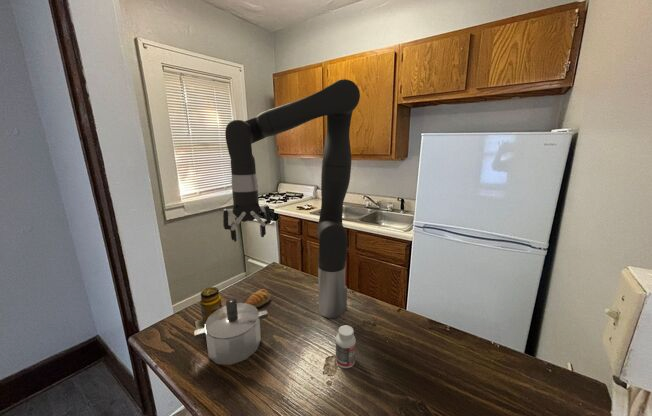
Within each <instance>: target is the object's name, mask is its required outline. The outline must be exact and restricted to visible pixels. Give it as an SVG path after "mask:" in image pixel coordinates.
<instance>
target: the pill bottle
mask: <svg viewBox="0 0 652 416" xmlns="http://www.w3.org/2000/svg"><path fill="white" fill-rule="evenodd" d="M354 332H355V331H354V328H353V327H352V326H351V325H345V324H344V325H341V326H340V327H338V333H337V334H336V336H335V354H334V355H335V362H336V365H337V366H338V367H339V368H342V369H350V368H353V366H354V365H355V362H356V348H357V347H356V343H357V340H356V336H355V335H354Z"/></svg>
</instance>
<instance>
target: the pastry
mask: <svg viewBox="0 0 652 416" xmlns="http://www.w3.org/2000/svg"><path fill="white" fill-rule="evenodd" d="M270 300H271V294H270V293H269V292H268V290H266V289H264V288H262V289H261V288H260V289H259V290H257V291H255V292H253V293H252V294H251V295H250V296H249V297H248V298H247V300H246V301H245V302H244V303H246V304H250V305H253V306H254V307H256V308H258V307H262V306H263V305H264V304H266V303H268V302H269V301H270Z"/></svg>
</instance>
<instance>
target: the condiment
mask: <svg viewBox="0 0 652 416" xmlns="http://www.w3.org/2000/svg"><path fill="white" fill-rule="evenodd" d="M219 291H220V290H219V288H218V287H215V286H211V287H206V288H205V289H202V291H201V292H200V299H201V300H200V303H199V305H200V309H201V318H202V319H199V320H195V321H194V322H195V323H194V324H195V329H196V330H199V329H202V328H205V324H206V321H207V319H208V317H209V316H210V315H211V314H212V313H214V312H215V311H216V310H218V309H220V308H222V307H223V305H222V299H221V298H222V297H221V294H220V292H219Z"/></svg>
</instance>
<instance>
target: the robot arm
mask: <svg viewBox="0 0 652 416" xmlns="http://www.w3.org/2000/svg"><path fill="white" fill-rule="evenodd" d="M360 99H361V91H360V88H359V86H358V85H357V84H356V83H355V82H354V81H352V80H350V79H345V78H342V79H339V80H336V81H335V82H334V83H332V84H329V85H328V86H327V87H325V88H323V89H321V90H319V91H317V92H315V93H313V94H311V95H308V96H306V97H304V98H300V99H297V100H295V101H291V102H288V103H286V104H282V105H279V106H276V107H273V108H270V109H268V110H265V111H262V112H260V113H259V114H258V115H257V116H254V117H251V118H249V119H246V120H241V119H233V120H231V121H229V122H227V125H226V126H225V127H226V128H225V131H224V132H225V135H224V136H225V141H226V147H227V151H228V155H229V157H230V170H231V192H232V202H233V207H232V208H231V209H227V208H224V209H222V220H223V221H222V222H223V229H224V230H229V231H230V238H231V240H232V241H233V242H234V243H235V242H237V231H236V228H237V227H238V225H240V223H241V222H243V223H244V222H248V221H249V222H253V221H254V220H256V221H257V222H258V223H259V224H260V225H259V231H260V233H259V234H260V237H261V238H264V237H265V235H266V234H267V232H266V226H267V225H269V224H270V225H271V223H272V220H271V210H270V206H269V205H268V204H263V205H260V202H259V184H258V178H257V172H256V160H255V156H254V155H253V149H252V144H254V143H257V142H258V141H262V140H264V139H266V138H267V137H272V136H276V135H279V134H281V133H285V132H287V131H290V130H293V129H295V128H298V127H300V126H301V125H304V124H306V123H308V122H310V121H312V120H316V119H317V118H321V117H322V118H323V117H325V116H326V133H325V134H326V135H325V140H324V146H323V153H322V154H323V155H322V161H321V176H320V178H321V179H320V182H321V184H320V188H321V189H320V190H321V191H320V192H321V193H320V196H321V205H320V212H319V219H318V224H317V228H316V229H317V230H316V231H317V233H316V235H317V237H318V260H317V263H318V264H317V271H318V275H317V278H318V306H317V307H318V313H319V314H320V315H321V316H322V317H324V318H328V319H336V318H339V317H341V316H343V314H344V313H345V312H347V309H348V308H347V307H348V286H347V285H346V262H347V259H348V258H347V257H348V241H349V240H348V233H347V230H346V228H345V227H344V225H343V207H344V201H345V198H346V195H347V192H348V189H349V186H350V180H351V171H352V150H351V139H350V132H351V131H350V129H351V128H350V127H351V122H352V116H353V111H355V109H356V108H357V106H358V105H359V102H360ZM261 211H262V212H263V213H264V220H263V219H262V218H261V217H260V216H259V214H260V212H261ZM232 214H233V215H234V216H235V217H234V219H233V221H232V222H231V223H230V224H229V217H231V215H232Z"/></svg>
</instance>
